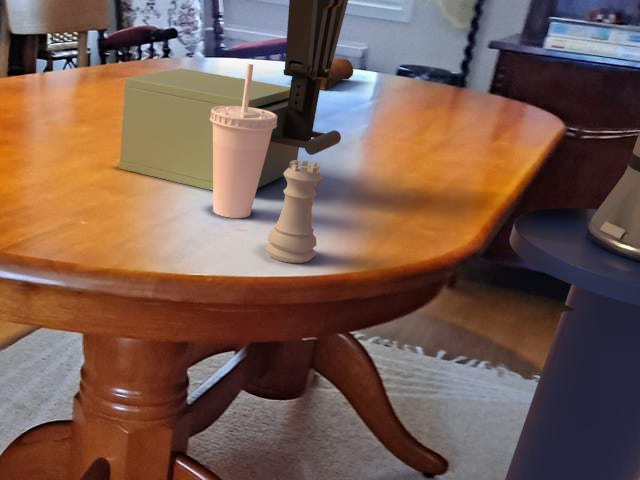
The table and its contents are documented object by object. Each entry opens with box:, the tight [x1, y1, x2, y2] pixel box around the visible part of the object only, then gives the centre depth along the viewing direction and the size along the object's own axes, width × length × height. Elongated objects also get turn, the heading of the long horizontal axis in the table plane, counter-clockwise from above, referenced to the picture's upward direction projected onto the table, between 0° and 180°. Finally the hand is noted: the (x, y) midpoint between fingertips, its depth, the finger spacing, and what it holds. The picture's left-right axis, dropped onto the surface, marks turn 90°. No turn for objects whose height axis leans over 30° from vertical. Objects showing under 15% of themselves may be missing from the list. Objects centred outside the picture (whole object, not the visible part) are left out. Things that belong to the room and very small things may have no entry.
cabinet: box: [118, 68, 291, 191], centre depth 94 cm, size 15×13×10 cm
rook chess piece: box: [264, 159, 323, 264], centre depth 71 cm, size 4×4×8 cm
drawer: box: [255, 100, 342, 189], centre depth 92 cm, size 19×12×8 cm, turn 60°
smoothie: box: [210, 63, 277, 219], centre depth 80 cm, size 6×6×14 cm
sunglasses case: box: [290, 58, 354, 91], centre depth 167 cm, size 18×7×7 cm
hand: (296, 141), depth 90 cm, fingers closed
